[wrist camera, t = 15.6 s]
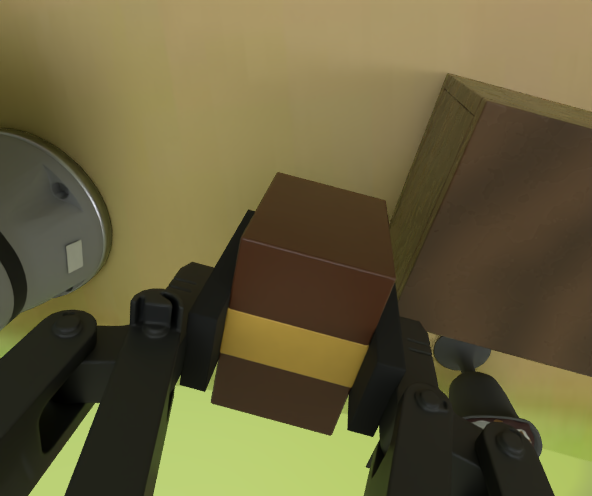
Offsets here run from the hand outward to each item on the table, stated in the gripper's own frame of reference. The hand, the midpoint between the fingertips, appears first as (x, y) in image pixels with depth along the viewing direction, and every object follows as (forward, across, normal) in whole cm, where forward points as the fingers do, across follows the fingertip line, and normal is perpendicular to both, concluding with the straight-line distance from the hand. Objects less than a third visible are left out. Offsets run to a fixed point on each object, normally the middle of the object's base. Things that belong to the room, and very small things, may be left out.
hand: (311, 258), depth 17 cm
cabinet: (+17, +14, 0) cm, 21 cm away
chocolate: (0, 0, 0) cm, 0 cm away
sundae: (+17, +16, -15) cm, 28 cm away
